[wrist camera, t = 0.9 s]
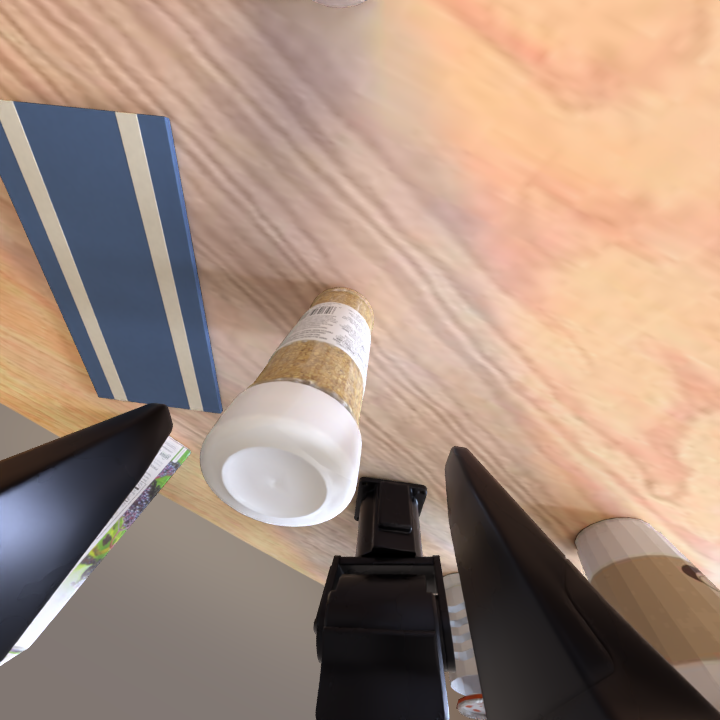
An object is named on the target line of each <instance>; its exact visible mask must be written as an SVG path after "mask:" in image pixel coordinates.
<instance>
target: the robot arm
mask: <svg viewBox="0 0 720 720" xmlns="http://www.w3.org/2000/svg"><path fill="white" fill-rule="evenodd" d="M172 428H173V423H172V419H171V416H170V412H169V409H168V407H167V406H166V405H165V404H159V403H150V404H147V405H145V406H142V407H139V408H137V409H134V410H131V411H129V412H126V413H124V414H121V415H118V416H116V417H113V418H111V419H108V420H105V421H103V422H100V423H98V424H95V425H92V426H90V427H87V428H85V429H82V430H79V431H77V432H74V433H71V434H69V435H66V436H64V437H61V438H58V439H56V440H53V441H51V442H48V443H45V444H43V445H40V446H38V447H35V448H32V449H30V450H27V451H25V452H22V453H19V454H17V455H14V456H12V457H9V458H6V459H4V460H1V461H0V662H1V661H3V660H4V658H5V657H6V656H7V654H8V653H9V652H10V650H11V649H12V648H13V646H14V645H15V644H16V643H17V641H18V640H19V639H20V637H21V636H22V635H23V633H24V632H25V631H26V629H27V628H28V627H29V625H30V624H31V623H32V622H33V620H34V619H35V618H36V616H37V615H38V614H39V612H40V611H41V610H42V608H43V607H44V606H45V604H46V603H47V602H48V601H49V599H50V598H51V597H52V595H53V594H54V593H55V591H56V590H57V589H58V587H59V586H60V585H61V583H62V582H63V581H64V580H65V578H66V577H67V576H68V574H69V573H70V572H71V570H72V569H73V568H74V566H75V565H76V564H77V563H78V561H79V560H80V559H81V557H82V556H83V555H84V553H85V552H86V551H87V549H88V548H89V547H90V545H91V544H92V543H93V542H94V540H95V539H96V538H97V536H98V535H99V534H100V532H101V531H102V530H103V528H104V527H105V526H106V524H107V523H108V522H109V521H110V519H111V518H112V517H113V515H114V514H115V513H116V511H117V510H118V509H119V507H120V506H121V505H122V503H123V502H124V501H125V500H126V498H127V497H128V496H129V494H130V493H131V492H132V490H133V489H134V488H135V486H136V485H137V484H138V482H139V481H140V480H141V478H142V477H143V476H144V474H145V473H146V471H147V470H148V468H149V466H150V465H151V463H152V462H153V460H154V458H155V457H156V455H157V454H158V452H159V450H160V449H161V447H162V446H163V444H164V442H165V441H166V439H167V438H168V436H169V434H170V433H171V431H172ZM445 480H446V492H447V504H448V516H449V524H450V530H451V536H452V541H453V546H454V551H455V556H456V562H457V567H458V572H459V577H460V582H461V588H462V593H463V598H464V603H465V608H466V614H467V619H468V624H469V629H470V634H471V640H472V645H473V650H474V655H475V661H476V666H477V671H478V676H479V681H480V687H481V692H482V697H483V702H484V707H485V713H486V718H487V720H720V712H719V711H718V710H717V709H716V708H715V707H714V706H713V705H712V704H711V703H710V702H709V701H708V700H707V699H706V698H705V697H704V696H703V695H702V694H701V693H700V692H699V691H698V690H697V689H696V688H695V687H694V686H693V685H692V684H691V683H689V682H688V681H687V680H686V679H685V678H684V677H683V676H682V675H681V674H680V673H679V672H678V671H677V670H676V669H675V668H674V667H673V666H672V665H671V664H670V663H669V662H668V661H667V660H666V659H665V658H664V657H663V656H662V655H661V654H660V653H659V652H658V651H657V650H656V649H655V648H654V647H653V646H652V645H651V644H650V643H649V642H648V641H647V640H646V639H645V638H644V637H643V636H642V635H641V634H640V633H639V632H638V631H637V630H636V629H635V628H634V627H633V626H632V625H631V624H630V623H629V622H628V621H627V620H626V619H625V618H624V617H623V616H622V615H621V614H620V613H619V612H618V611H617V610H616V609H615V608H614V607H613V606H612V605H611V604H610V603H609V602H608V601H607V600H606V599H605V598H604V597H603V596H602V595H601V594H600V593H599V592H598V591H597V590H596V589H595V588H594V586H593V585H592V584H591V583H590V582H589V581H588V580H587V579H586V578H585V577H584V576H583V575H582V574H581V573H580V571H579V570H578V569H577V568H576V567H575V566H574V565H573V564H572V563H571V562H570V561H569V560H568V559H565V555H564V554H563V553H562V552H561V551H560V550H559V549H558V548H557V546H556V545H555V544H554V543H553V542H552V541H551V540H550V539H549V538H548V537H547V535H546V534H545V533H544V532H543V531H542V530H541V529H540V528H539V527H538V526H537V524H536V523H535V522H534V521H533V520H532V519H531V518H530V517H529V516H528V515H527V513H526V512H525V511H524V510H523V509H522V508H521V507H520V506H519V505H518V504H517V503H516V501H515V500H514V499H513V498H512V497H511V496H510V495H509V494H508V493H507V492H506V490H505V489H504V488H503V487H502V486H501V485H500V484H499V483H498V482H497V481H496V479H495V478H494V477H493V476H492V475H491V474H490V473H489V472H488V471H487V470H486V468H485V467H484V466H483V465H482V464H481V463H480V462H479V461H478V460H477V459H476V458H475V456H474V455H473V454H472V453H471V452H470V451H469V450H468V449H467V448H464V447H458V446H454V447H452V448H451V451H450V454H449V456H448V459H447V462H446V465H445ZM426 495H427V488H426V486H424V485H418V484H410V483H403V482H396V481H389V480H382V479H375V478H367V477H362V478H360V480H359V487H358V494H357V501H356V508H355V516H354V519H355V520H356V521H359V524H358V535H357V546H356V557H341V555H335V556H334V559H333V562H332V566H330V570H329V573H328V577H327V580H326V584H325V587H324V591H323V595H322V598H321V602H320V606H319V609H318V612H317V616H316V619H315V621H314V632H315V634H316V646H317V656H318V660H319V662H320V663H321V674H320V682H319V690H318V697H317V706H316V720H449V709H448V700H447V692H446V683H445V675H444V672H456V664H455V655H454V647H453V640H452V632H451V625H450V618H449V612H448V606H447V599H446V593H445V587H444V581H443V575H442V569H441V562H440V556H439V555H433V557H423V554H422V544H421V534H420V524H419V516H420V513H421V510H422V507H423V504H424V501H425V498H426ZM433 594H437V595H433Z"/></svg>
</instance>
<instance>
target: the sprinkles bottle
mask: <svg viewBox="0 0 720 720" xmlns="http://www.w3.org/2000/svg"><path fill="white" fill-rule="evenodd" d="M373 325H374V317H373V311H372V308H371V306H370V304H369V303H368V301H367V300H366V298H365V297H363V296H362V295H361V294H360V293H358V292H356V291H354V290H352V289H348V288H344V287H339V288H332V289H328V290H326V291H324V292H322V293H321V294H320V295H318V296H317V297H316V298H315V300H314V302H313V303H312V305H311V307H310V309H309V310H308V311H307V312H306V313H305V314H304V315H303V316H302V317H301V319H300V320H299V321H298V322H297V324H296V325H295V326H294V327H293V329H292V330H291V331H290V333H289V334H288V335H287V336H286V338H285V339H284V340H283V342H282V343H281V344H280V346H279V347H278V348H277V349H276V351H275V352H274V353H273V355H272V356H271V358H270V359H269V362H268V364H267V366H266V367H265V368H264V370H263V371H262V372H261V374H260V375H259V376H258V378H257V379H256V381H255V382H254V383H253V384H252V385H250V386H249V387H248V388H247V389H246V390H244V391H243V392H242V393H240V394H239V395H238V396H237V397H236V398H235V399H234V400H233V401H232V403H231V404H230V405H229V406H228V408H227V409H226V410H225V411H224V413H223V414H222V415H221V417H220V418H219V420H218V421H217V422H216V424H215V425H214V426H213V428H212V429H211V431H210V432H209V433H208V435H207V436H206V438H205V440H204V442H203V445H202V448H201V452H200V465H201V470H202V473H203V476H204V478H205V480H206V482H207V484H208V485H209V487H210V488H211V490H212V491H213V492H214V493H215V494H216V495H217V496H218V497H219V498H220V499H221V500H222V501H223V502H224V503H226V504H227V505H228V506H230V507H231V508H233V509H234V510H236V511H238V512H240V513H241V514H243V515H245V516H248V517H250V518H253V519H255V520H258V521H261V522H265V523H268V524H273V525H279V526H292V527H299V526H309V525H315V524H318V523H322V522H324V521H327V520H330V519H331V518H333V517H335V516H336V515H338V514H339V513H340V512H342V511H343V510H344V509H345V508H346V507H347V505H348V504H349V503H350V501H351V499H352V497H353V495H354V493H355V490H356V485H357V479H358V472H359V465H360V456H361V447H362V440H361V434H360V431H359V427H358V426H359V421H360V412H361V405H362V400H363V396H364V391H365V383H366V375H367V367H368V359H369V351H370V343H371V332H372V328H373Z"/></svg>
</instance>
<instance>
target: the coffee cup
mask: <svg viewBox="0 0 720 720" xmlns="http://www.w3.org/2000/svg"><path fill="white" fill-rule="evenodd" d="M575 544H576V547H577V550H578V552H577V553H578V556H579V559H580V561H581V564H582V566H583V569H584V571H585V574H586V576H587V578H588V581H589V582H590V583H591V584H592V585H593V586H594V588H595V589H596V590H597V591H598V592H599V593H600V594H601V595H602V596H603V597H604V598H605V599H606V600H607V601H608V602H609V603H610V604H611V605H612V606H613V607H614V608H615V609H616V610H617V611H618V612H619V613H620V614H621V615H622V616H623V617H624V618H625V619H626V620H627V621H628V622H629V623H630V624H631V625H632V626H633V627H634V628H635V629H636V630H637V631H638V632H639V633H640V634H641V635H642V636H643V637H644V638H645V639H646V640H647V641H648V642H649V643H650V644H651V645H652V646H653V647H654V648H655V649H656V650H657V651H658V652H659V653H660V654H661V655H662V656H663V657H664V658H665V659H666V660H667V661H668V662H669V663H670V664H671V665H672V666H673V667H674V668H675V669H676V670H677V671H678V672H679V673H680V674H681V675H682V676H683V677H684V678H685V679H686V680H687V681H688V682H689V683H691V684H692V685H693V686H694V687H695V688H696V689H697V690H698V691H699V692H700V693H701V694H702V695H703V696H704V697H705V698H706V699H707V700H708V701H709V702H710V703H711V704H712V705H713V706H714V707H715V708H716V709H717V710H718V711H719V712H720V590H719V589H718V588H717V587H716V586H715V585H714V584H713V583H712V582H711V581H709V580H708V579H707V578H706V577H705V576H704V575H703V574H702V573H701V572H700V571H699V570H698V569H697V568H696V567H695V566H694V565H693V564H692V563H691V562H690V561H689V560H688V559H687V558H686V557H685V556H684V555H683V554H682V553H681V552H680V551H679V550H678V549H677V548H676V547H675V546H674V545H673V544H672V543H671V542H670V541H669V540H668V539H667V538H666V537H665V536H664V535H663V534H662V533H661V532H658V531H656V530H655V529H654V528H653V527H652V526H651V525H650V524H649V523H646V522H644V521H642V520H639V519H633V518H614V519H608V520H603V521H600V522H597V523H595V524H592V525H590V526H588V527H587V528H585V529H583V530H582V531H581V532H580V533H579V534H578V535H577V538H576V541H575Z"/></svg>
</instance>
